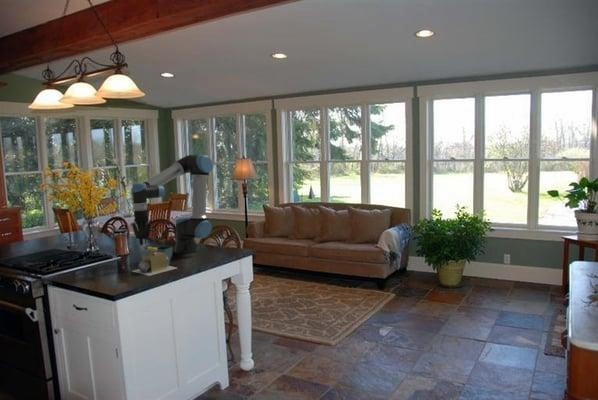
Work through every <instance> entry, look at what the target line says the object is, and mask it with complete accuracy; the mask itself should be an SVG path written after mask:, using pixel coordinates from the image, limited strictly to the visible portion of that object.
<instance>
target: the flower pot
mask: <svg viewBox="0 0 598 400" xmlns="http://www.w3.org/2000/svg"><path fill="white" fill-rule="evenodd" d="M156 248H157V251H156V252H162V253H166V256H167V257H169V259H170V260H171V259H172V257H173V249H174V248H173V246H164V245H163V246H158V247H156Z"/></svg>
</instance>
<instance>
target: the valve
mask: <svg viewBox="0 0 598 400" xmlns="http://www.w3.org/2000/svg"><path fill="white" fill-rule="evenodd" d="M170 264H171V259H169V257H167V256H166V253H162V252H156V251H154V252H149V253H145V254H141V260H140V261H139V263H138V264H137V265H138V266H137V267H138V269H139V270H140V271H142V272H143V273H145V272H151V273H152V272H156V271H160V270H164V269H167V266H170Z"/></svg>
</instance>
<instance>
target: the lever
mask: <svg viewBox="0 0 598 400" xmlns="http://www.w3.org/2000/svg"><path fill="white" fill-rule="evenodd" d="M157 248H158V247H153V246H151V245H147V244H145V249H146V250H148V251H149V253H151V252H154V251H157Z"/></svg>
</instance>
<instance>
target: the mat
mask: <svg viewBox="0 0 598 400" xmlns="http://www.w3.org/2000/svg"><path fill="white" fill-rule="evenodd" d="M177 269H178V267H176V266H171V265H169V266H167V269H164V270H160V271H156V272H152V273H151V272H145V273H143V272H142V271H140V270H139V268H138V269H134V270H131V272H133V273H137V274H141V275H145V276H149V277H150V276H153V275H157V274H160V273H162V274H163V273H166V272H168V271H172V270H177Z"/></svg>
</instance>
